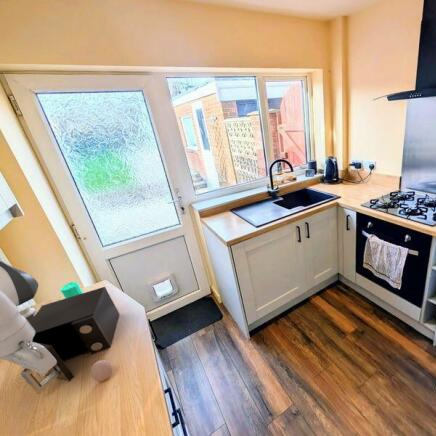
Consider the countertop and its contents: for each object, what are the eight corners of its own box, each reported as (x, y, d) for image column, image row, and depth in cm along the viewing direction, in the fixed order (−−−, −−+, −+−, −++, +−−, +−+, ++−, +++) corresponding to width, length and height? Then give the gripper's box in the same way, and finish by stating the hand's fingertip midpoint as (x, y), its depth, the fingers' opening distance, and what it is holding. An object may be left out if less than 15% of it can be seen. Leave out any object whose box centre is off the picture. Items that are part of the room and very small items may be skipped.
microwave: (110, 349, 87) (91, 318, 81) (40, 375, 81) (14, 344, 75) (119, 314, 103) (104, 286, 97) (62, 334, 96) (41, 305, 90)
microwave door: (49, 401, 73) (21, 369, 67) (18, 392, 76) (-11, 361, 70) (74, 376, 79) (51, 345, 73) (44, 369, 83) (20, 339, 76)
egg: (108, 384, 76) (99, 370, 73) (92, 386, 76) (82, 372, 73) (119, 368, 80) (110, 354, 77) (103, 369, 80) (94, 356, 78)
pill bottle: (24, 333, 99) (10, 315, 95) (28, 324, 103) (15, 307, 99) (41, 326, 101) (28, 309, 97) (45, 318, 106) (32, 301, 101)
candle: (79, 309, 109) (66, 288, 104) (68, 308, 110) (54, 287, 105) (91, 299, 114) (79, 278, 109) (80, 299, 115) (68, 278, 110)
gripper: (49, 336, 65) (73, 369, 71) (2, 321, 71) (28, 353, 77) (19, 358, 59) (48, 392, 65) (-28, 340, 65) (2, 372, 71)
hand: (37, 371), depth 71 cm, fingers open, 4 cm apart
